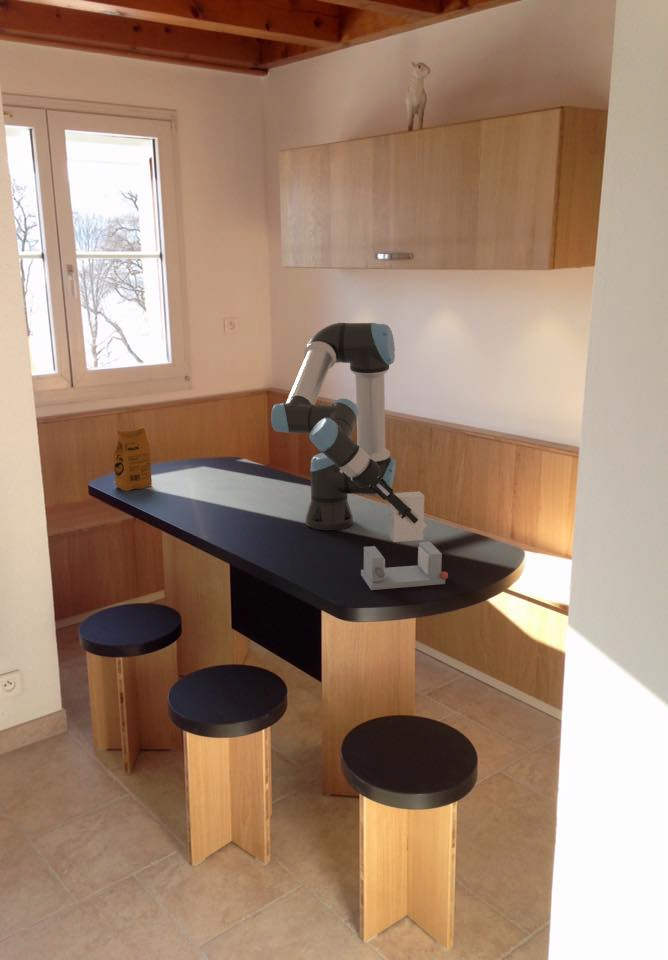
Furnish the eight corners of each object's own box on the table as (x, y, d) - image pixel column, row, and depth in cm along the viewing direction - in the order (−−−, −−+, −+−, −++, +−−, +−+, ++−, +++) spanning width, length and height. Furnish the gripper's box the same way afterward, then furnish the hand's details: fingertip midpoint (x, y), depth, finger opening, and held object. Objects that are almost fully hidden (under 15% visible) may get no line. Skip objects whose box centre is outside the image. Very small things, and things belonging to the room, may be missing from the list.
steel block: (389, 537, 226) (390, 493, 223) (418, 535, 227) (419, 491, 224) (393, 541, 222) (394, 497, 219) (423, 539, 223) (424, 495, 220)
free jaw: (363, 569, 230) (363, 546, 228) (376, 568, 230) (376, 545, 229) (376, 587, 217) (376, 563, 216) (389, 586, 218) (389, 562, 216)
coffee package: (112, 487, 319) (108, 429, 313) (142, 481, 327) (139, 424, 321) (124, 492, 312) (120, 433, 306) (155, 486, 319) (151, 428, 314)
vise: (360, 574, 231) (361, 545, 229) (433, 569, 235) (434, 540, 233) (372, 591, 219) (372, 561, 217) (448, 585, 223) (449, 555, 221)
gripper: (342, 470, 225) (401, 526, 233) (357, 486, 209) (420, 546, 216) (362, 449, 225) (420, 506, 232) (379, 464, 209) (441, 525, 216)
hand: (420, 525), depth 224 cm, fingers closed on steel block, 4 cm apart
